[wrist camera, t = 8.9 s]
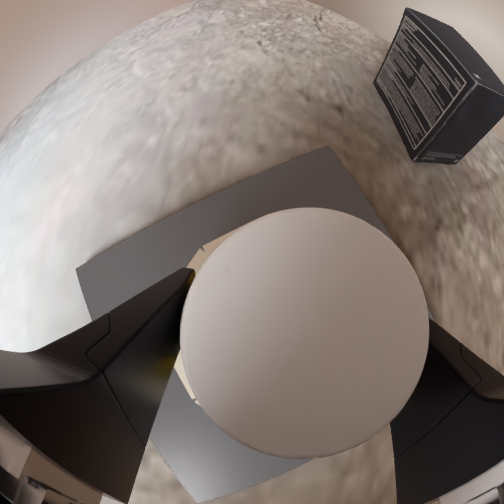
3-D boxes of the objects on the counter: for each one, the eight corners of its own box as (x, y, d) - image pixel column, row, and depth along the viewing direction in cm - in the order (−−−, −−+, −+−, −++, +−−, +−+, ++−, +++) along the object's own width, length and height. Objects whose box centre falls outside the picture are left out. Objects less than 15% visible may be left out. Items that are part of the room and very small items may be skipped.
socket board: (199, 496, 13) (186, 536, 8) (82, 272, 17) (40, 253, 12) (442, 357, 16) (487, 359, 11) (325, 153, 20) (342, 109, 15)
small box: (458, 166, 20) (521, 105, 10) (411, 164, 20) (476, 83, 10) (417, 89, 23) (454, 25, 13) (370, 81, 23) (402, 4, 13)
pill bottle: (198, 297, 15) (103, 225, 5) (301, 262, 16) (384, 142, 5) (234, 400, 14) (210, 523, 3) (338, 361, 14) (479, 394, 4)
